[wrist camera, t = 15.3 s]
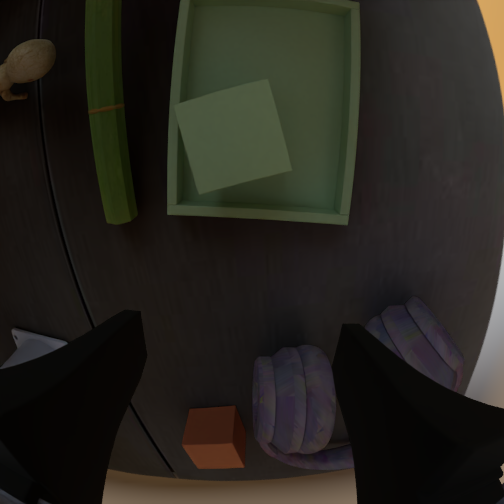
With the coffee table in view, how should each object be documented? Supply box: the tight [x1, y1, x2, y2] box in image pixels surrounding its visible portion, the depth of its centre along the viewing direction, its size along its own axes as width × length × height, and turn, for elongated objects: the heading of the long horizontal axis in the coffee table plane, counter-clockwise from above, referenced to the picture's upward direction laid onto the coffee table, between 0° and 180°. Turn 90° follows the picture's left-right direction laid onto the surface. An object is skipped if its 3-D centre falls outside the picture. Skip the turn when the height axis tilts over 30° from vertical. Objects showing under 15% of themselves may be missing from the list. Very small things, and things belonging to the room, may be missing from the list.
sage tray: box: [167, 0, 361, 225], centre depth 16 cm, size 14×11×2 cm
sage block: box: [174, 79, 293, 195], centre depth 15 cm, size 4×4×4 cm
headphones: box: [252, 296, 464, 470], centre depth 22 cm, size 18×8×20 cm
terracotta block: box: [182, 405, 246, 469], centre depth 24 cm, size 4×4×4 cm
